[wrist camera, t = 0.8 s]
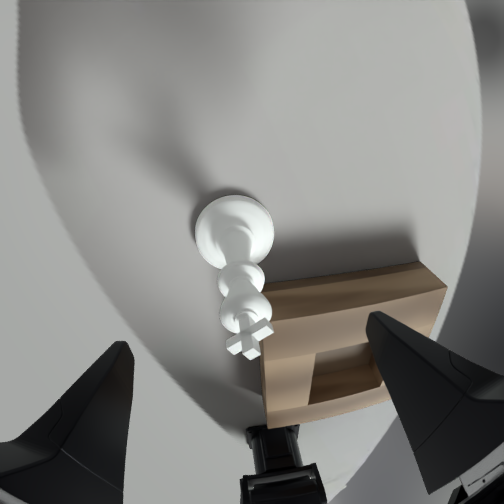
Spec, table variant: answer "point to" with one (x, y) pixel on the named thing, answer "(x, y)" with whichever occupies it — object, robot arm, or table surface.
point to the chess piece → (239, 266)
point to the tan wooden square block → (336, 339)
